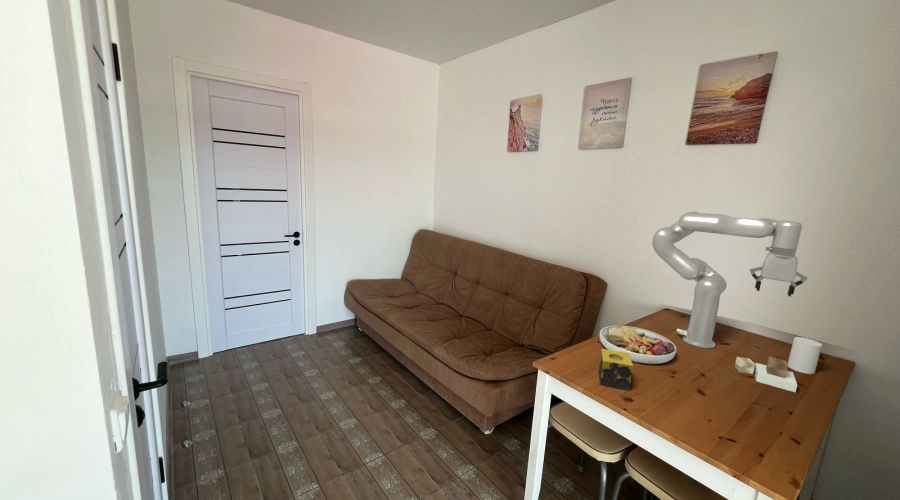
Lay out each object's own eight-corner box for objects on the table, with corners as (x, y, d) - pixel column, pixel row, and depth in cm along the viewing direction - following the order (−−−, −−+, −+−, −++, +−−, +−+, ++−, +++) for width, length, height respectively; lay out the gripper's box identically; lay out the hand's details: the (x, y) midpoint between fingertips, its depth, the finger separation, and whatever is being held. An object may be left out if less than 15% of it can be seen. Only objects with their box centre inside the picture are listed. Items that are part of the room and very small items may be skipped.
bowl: (589, 350, 157) (591, 333, 155) (609, 329, 179) (611, 314, 178) (667, 376, 138) (671, 357, 137) (679, 349, 161) (682, 333, 159)
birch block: (739, 372, 143) (741, 361, 142) (734, 366, 147) (736, 356, 146) (752, 374, 142) (755, 364, 141) (747, 368, 146) (749, 358, 145)
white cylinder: (820, 375, 143) (827, 347, 140) (796, 372, 144) (803, 344, 142) (804, 364, 151) (811, 338, 148) (782, 362, 152) (789, 336, 150)
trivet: (756, 381, 136) (757, 374, 136) (754, 369, 145) (755, 362, 144) (795, 392, 130) (797, 384, 129) (791, 379, 139) (792, 372, 138)
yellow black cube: (626, 377, 136) (630, 352, 134) (630, 391, 127) (634, 365, 125) (597, 371, 139) (601, 347, 137) (599, 385, 130) (602, 360, 128)
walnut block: (767, 373, 137) (770, 361, 136) (766, 368, 140) (768, 356, 139) (784, 378, 134) (787, 366, 133) (783, 372, 137) (786, 360, 136)
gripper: (755, 250, 145) (746, 290, 148) (814, 257, 135) (803, 300, 138) (754, 247, 151) (745, 286, 154) (811, 254, 141) (800, 295, 144)
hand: (773, 292), depth 146 cm, fingers open, 9 cm apart
